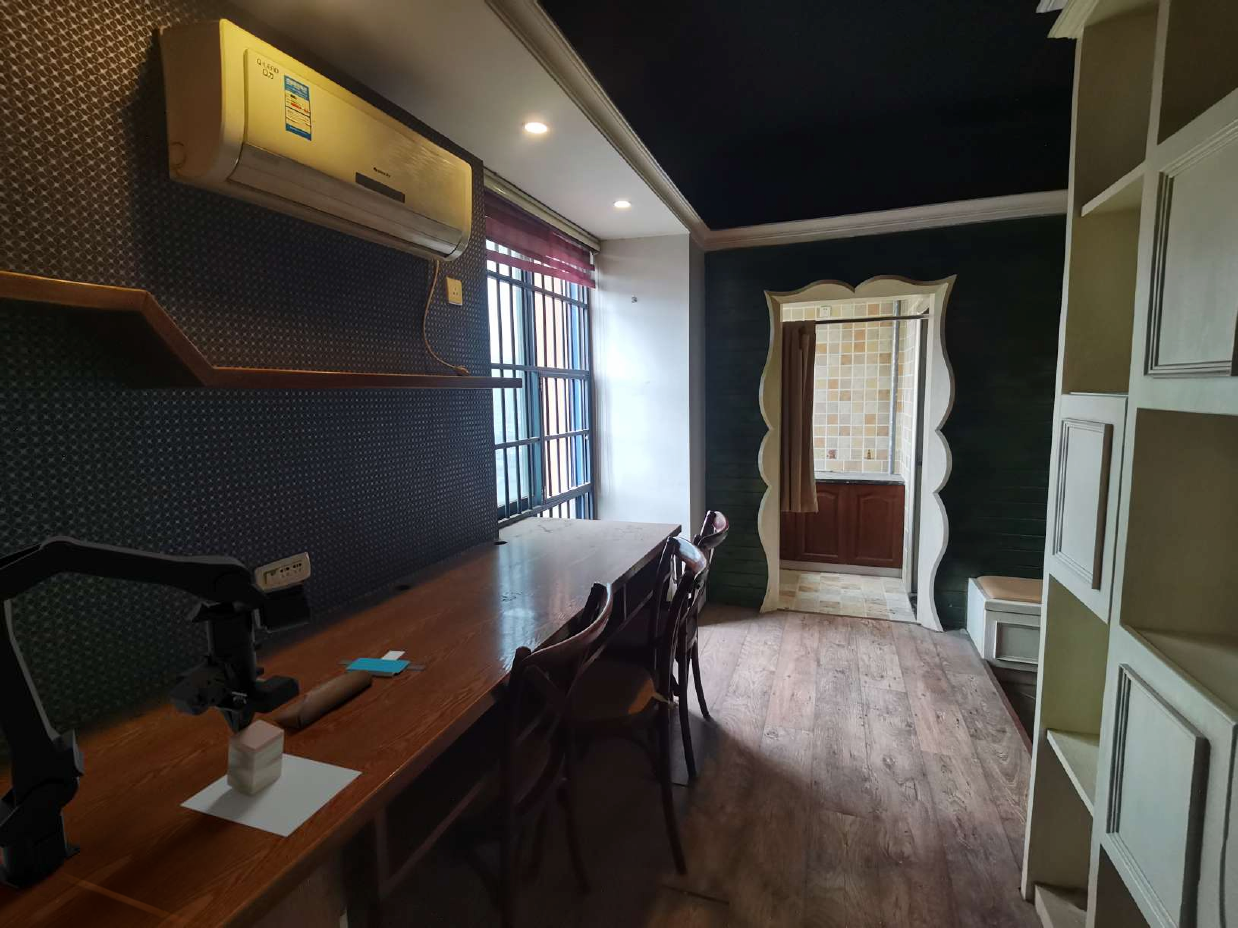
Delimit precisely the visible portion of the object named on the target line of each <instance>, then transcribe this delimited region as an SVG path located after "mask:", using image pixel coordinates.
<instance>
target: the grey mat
mask: <svg viewBox="0 0 1238 928" xmlns="http://www.w3.org/2000/svg"><path fill="white" fill-rule="evenodd" d="M361 774H363V772H362V771H359V770H355V769H350V768H346V767H341V766H337V765H333V764H329V763H324V762H321V761H316V760H311V759H307V758H304V757H300V756H295V755H291V754H288V753H287V754H286V753H283V756H282V770H281V776H280V777H279V778H277V779H276V780H275V781H273V782H272V783H271V784H269V785H268V786H266V787H265V788H264V789H262V790H261V791H260V792H258V793H257V794H256V795H254V796H253V797H251V796H249V795H247V794H245V793H243V792H241V791H239V790H237V789H235V788H233V787H231V786H229V785H227V774H225V775H224V776H222V777H220V778H219V779H217V780H216V781H215V782H213V783H211V784H210V785H208V786H207V787H205V788H204V789H202V790H201V791H199V792H198V793H196V794H195V795H194V796H191V797H190V798H188V799H187V800H186V801H184V802H183V803H181V804H179V806H180V807H183V808H188V809H189V810H194V811H196V812H197V811H198V812H201V813H203V814H208V815H210V816H215V817H217V818H221V819H224V820H227V821H232V822H235V823H237V824H241V825H245V826H248V827H252V828H256V829H258V830H262V831H265V832H269V833H272V834H276V835H279V836H282V837H286V838H287V837H288V836H289V835H291V834H292V833H293V832H294V831H296V830H297V829H298V828H299V827H300V826H301V825H303V824H304V823H305V822H306V821H307V820H309V819H310V818H311V817H312V816H313V815H314V814H316V813H317V812H318V811H319V810H320V809H321V808H322V807H324V806H325V805H326V804H327V803H329V801H331V800H332V799H333V798H334V797H335V796H337V795H338V794H339V793H340V792H341V791H342V790H343V789H344V788H345V789H346V787H347V786H348V785H350V784H351V783H352V782H353V781H354V780H355V779H356V778H357V777H359V776H360V775H361Z"/></svg>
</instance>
